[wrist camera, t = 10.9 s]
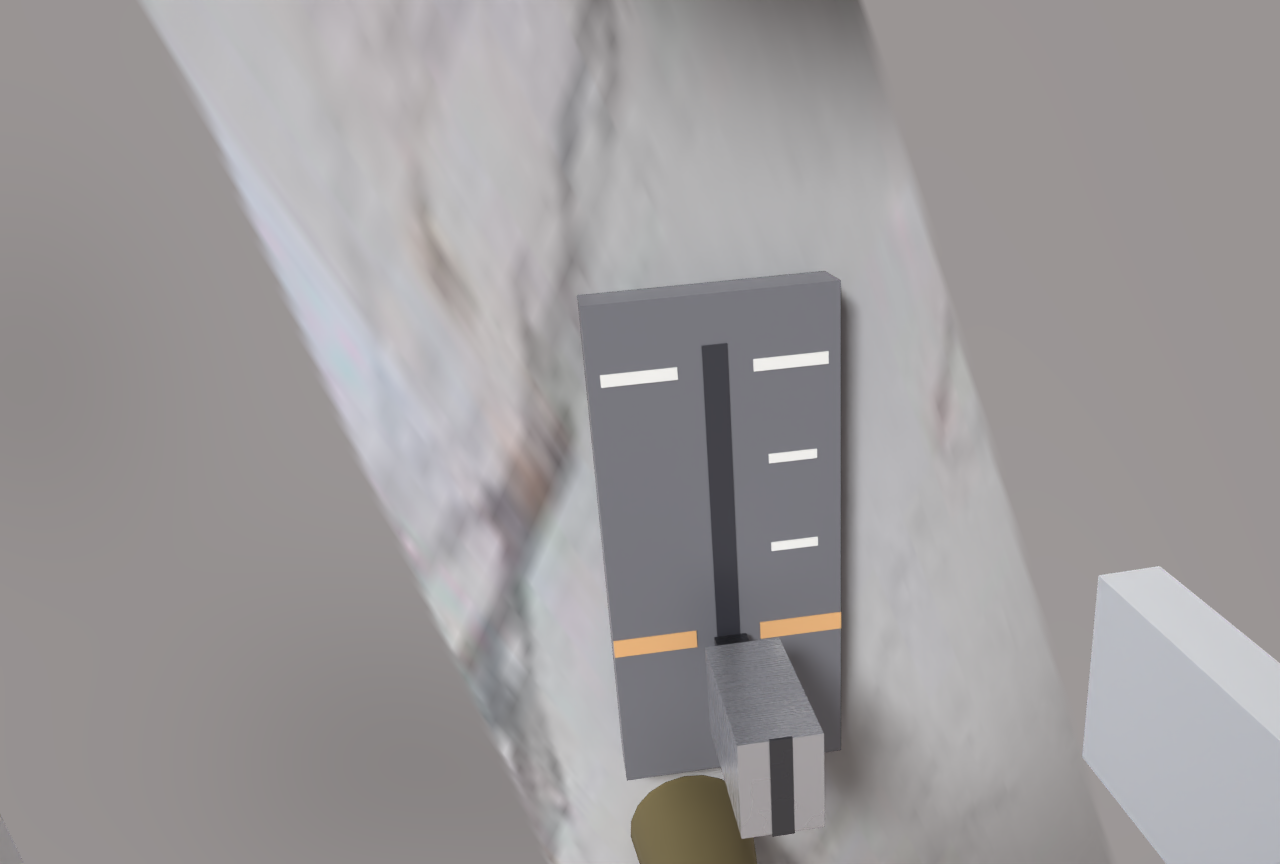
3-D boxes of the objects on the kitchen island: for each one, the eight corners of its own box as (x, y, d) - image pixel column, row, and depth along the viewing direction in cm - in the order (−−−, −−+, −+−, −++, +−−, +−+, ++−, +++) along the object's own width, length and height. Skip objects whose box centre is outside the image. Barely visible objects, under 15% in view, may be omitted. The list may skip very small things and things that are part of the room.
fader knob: (693, 612, 40) (737, 745, 31) (763, 603, 40) (824, 733, 32) (699, 693, 41) (741, 841, 33) (766, 684, 41) (825, 828, 33)
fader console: (577, 295, 37) (580, 306, 35) (825, 270, 38) (841, 280, 36) (622, 751, 44) (627, 781, 43) (827, 722, 45) (841, 750, 43)
